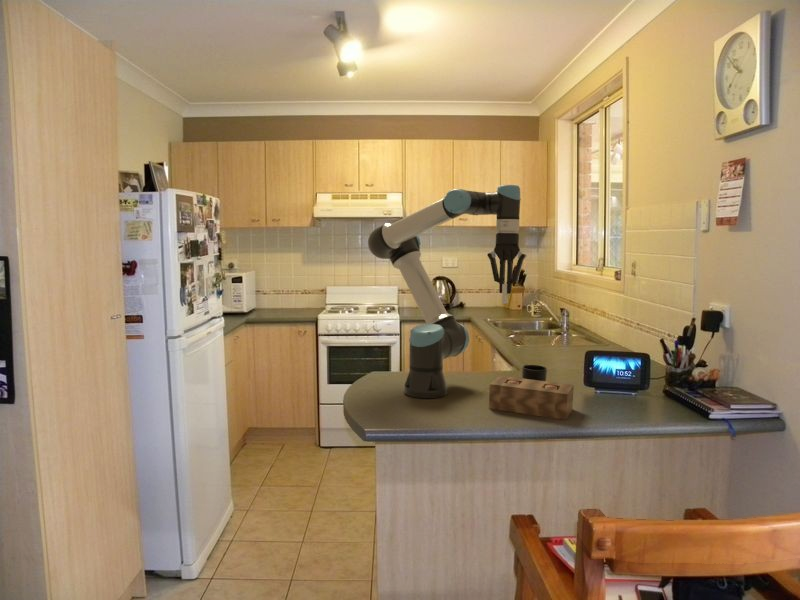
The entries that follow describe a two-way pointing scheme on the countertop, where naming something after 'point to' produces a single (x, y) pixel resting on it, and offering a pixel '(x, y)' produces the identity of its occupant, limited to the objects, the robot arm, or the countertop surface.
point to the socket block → (531, 397)
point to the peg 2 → (551, 387)
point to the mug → (534, 372)
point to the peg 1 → (513, 382)
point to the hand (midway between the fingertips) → (505, 303)
